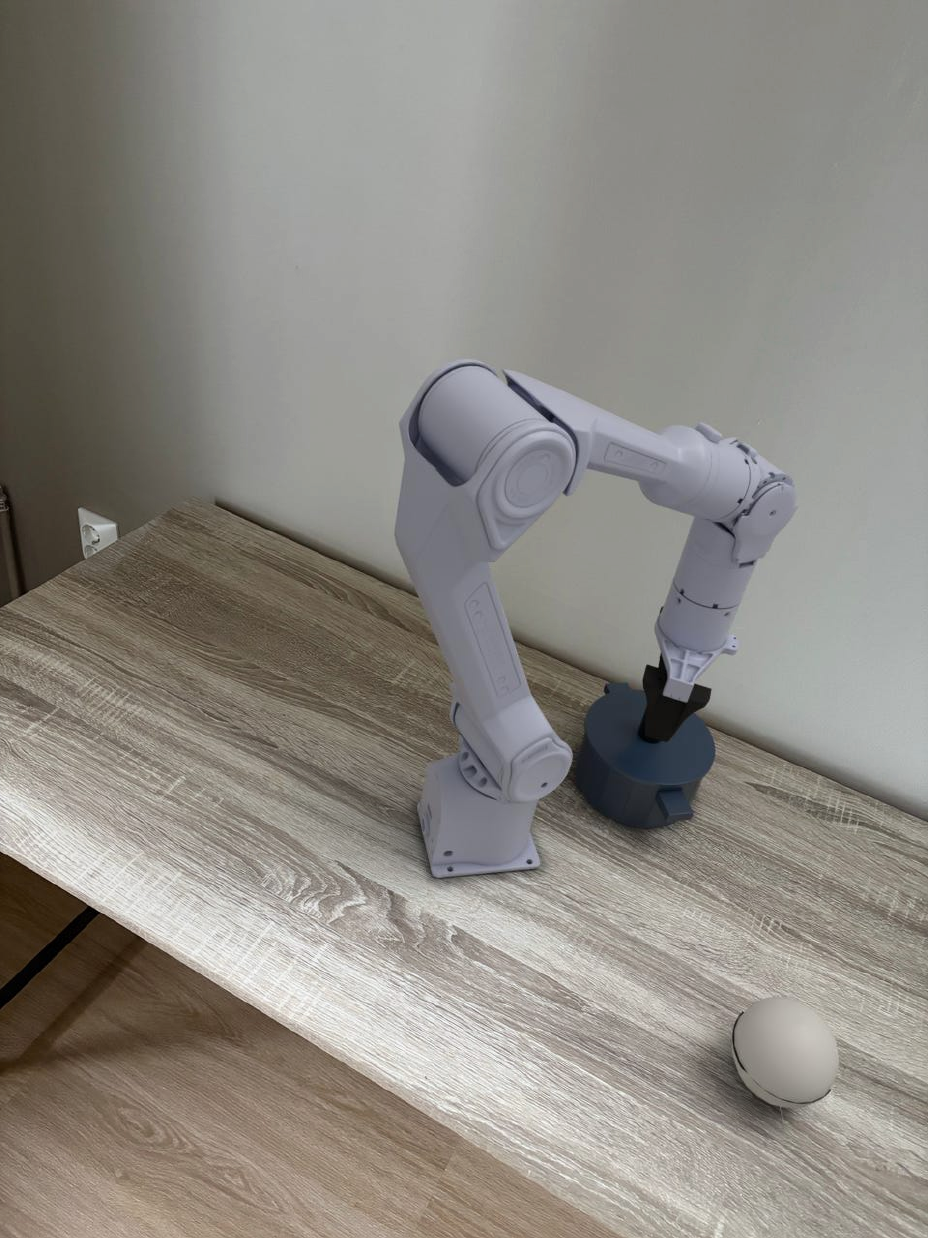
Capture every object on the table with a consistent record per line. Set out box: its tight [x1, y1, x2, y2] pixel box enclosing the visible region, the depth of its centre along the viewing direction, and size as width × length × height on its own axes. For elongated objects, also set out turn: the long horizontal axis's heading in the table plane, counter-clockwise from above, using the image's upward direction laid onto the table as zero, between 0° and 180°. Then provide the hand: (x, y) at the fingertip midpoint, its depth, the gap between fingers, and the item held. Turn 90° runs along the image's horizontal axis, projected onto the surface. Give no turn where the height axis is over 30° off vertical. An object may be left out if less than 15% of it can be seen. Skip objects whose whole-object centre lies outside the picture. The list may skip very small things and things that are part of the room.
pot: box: [574, 681, 704, 829], centre depth 92 cm, size 11×17×6 cm
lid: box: [583, 689, 717, 788], centre depth 89 cm, size 12×12×5 cm
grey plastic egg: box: [731, 996, 840, 1140], centre depth 69 cm, size 10×7×7 cm
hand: (662, 708), depth 88 cm, fingers open, 7 cm apart
